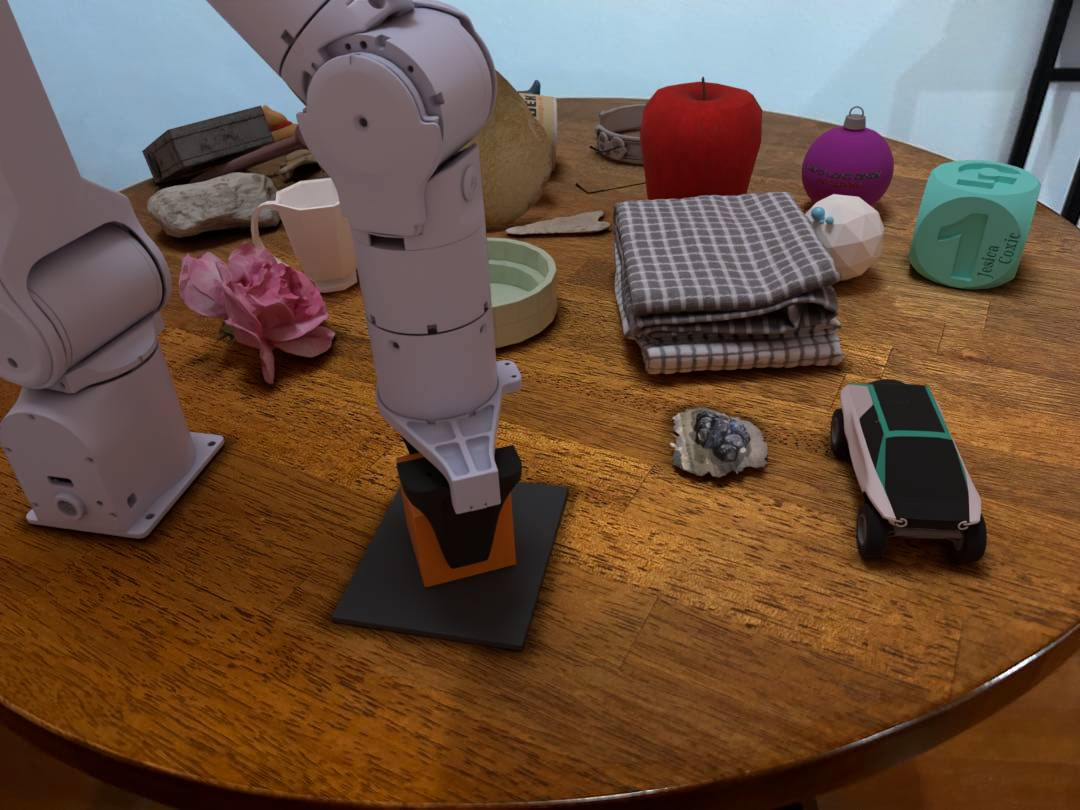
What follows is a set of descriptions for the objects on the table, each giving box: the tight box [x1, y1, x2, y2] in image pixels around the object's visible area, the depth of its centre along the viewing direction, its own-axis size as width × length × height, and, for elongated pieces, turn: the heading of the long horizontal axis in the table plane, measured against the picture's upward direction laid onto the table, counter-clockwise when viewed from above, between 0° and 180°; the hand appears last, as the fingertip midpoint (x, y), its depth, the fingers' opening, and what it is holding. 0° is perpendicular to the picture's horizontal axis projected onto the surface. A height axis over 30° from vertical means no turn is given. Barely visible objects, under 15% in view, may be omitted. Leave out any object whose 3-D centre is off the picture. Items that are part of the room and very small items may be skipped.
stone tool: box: [505, 209, 612, 236], centre depth 83 cm, size 5×1×10 cm
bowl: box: [486, 236, 559, 349], centre depth 69 cm, size 12×12×4 cm
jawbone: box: [276, 149, 318, 181], centre depth 100 cm, size 9×20×2 cm, turn 118°
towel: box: [612, 190, 845, 375], centre depth 66 cm, size 15×18×8 cm
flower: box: [178, 241, 336, 385], centre depth 65 cm, size 11×10×10 cm
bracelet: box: [594, 103, 647, 164], centre depth 100 cm, size 14×14×3 cm
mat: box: [330, 481, 569, 652], centre depth 48 cm, size 12×10×1 cm
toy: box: [261, 104, 304, 151], centre depth 104 cm, size 3×17×5 cm, turn 91°
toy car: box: [829, 378, 988, 563], centre depth 49 cm, size 6×12×5 cm, turn 174°
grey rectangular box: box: [141, 105, 274, 184], centre depth 93 cm, size 16×4×10 cm
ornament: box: [804, 194, 885, 282], centre depth 71 cm, size 7×7×8 cm
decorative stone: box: [146, 171, 282, 238], centre depth 85 cm, size 12×11×5 cm
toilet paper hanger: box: [189, 123, 330, 184], centre depth 93 cm, size 22×8×14 cm
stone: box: [287, 69, 552, 227], centre depth 85 cm, size 30×15×6 cm
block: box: [395, 453, 516, 588], centre depth 47 cm, size 5×5×5 cm
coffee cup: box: [519, 93, 558, 172], centre depth 94 cm, size 9×9×12 cm
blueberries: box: [669, 406, 769, 478], centre depth 55 cm, size 7×8×2 cm
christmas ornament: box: [801, 105, 895, 207], centre depth 81 cm, size 8×8×10 cm
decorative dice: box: [908, 159, 1042, 290], centre depth 71 cm, size 8×8×8 cm
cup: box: [250, 178, 358, 294], centre depth 74 cm, size 7×10×8 cm
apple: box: [639, 76, 763, 200], centre depth 79 cm, size 10×10×14 cm
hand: (456, 525), depth 47 cm, fingers closed on block, 5 cm apart
